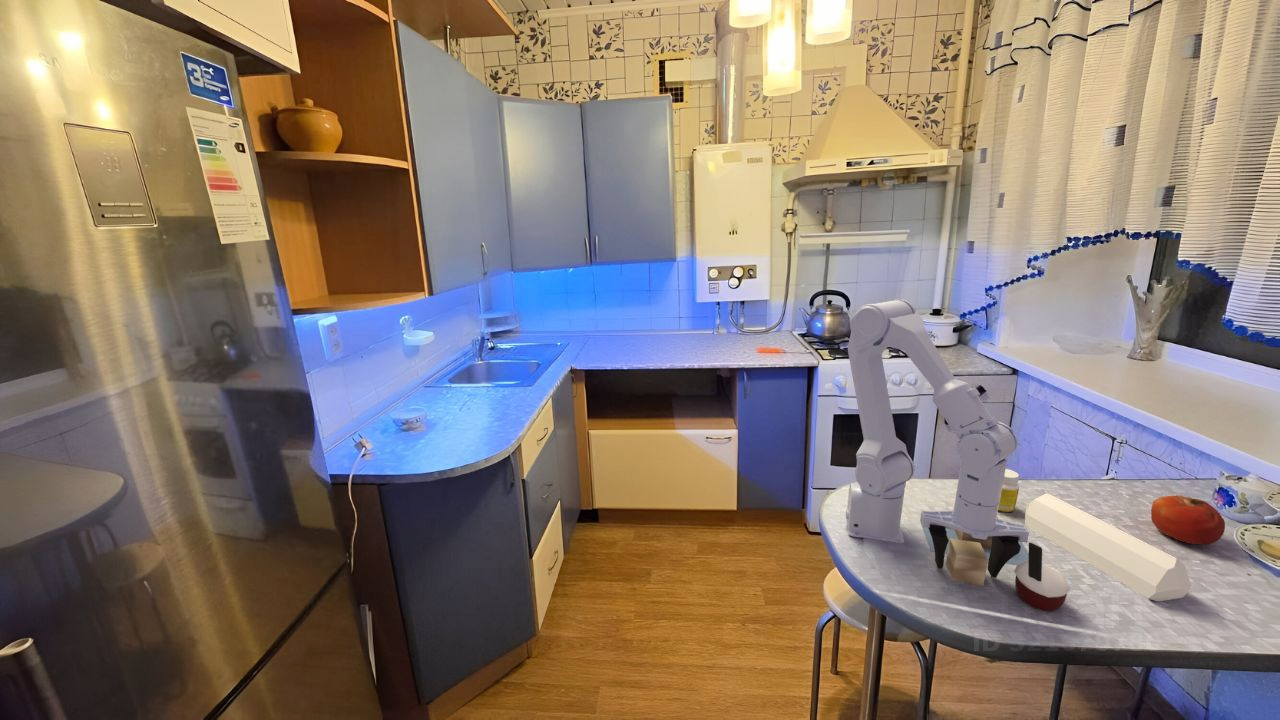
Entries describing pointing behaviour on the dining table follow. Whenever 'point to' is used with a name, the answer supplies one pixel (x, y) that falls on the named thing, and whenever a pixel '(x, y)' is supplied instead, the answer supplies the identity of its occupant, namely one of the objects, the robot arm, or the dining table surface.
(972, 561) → the maple block
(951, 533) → the board
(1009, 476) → the supplement bottle
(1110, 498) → the dining table surface
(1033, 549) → the cocoa
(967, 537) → the walnut base block
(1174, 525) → the tomato
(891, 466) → the robot arm
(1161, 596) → the crystal
